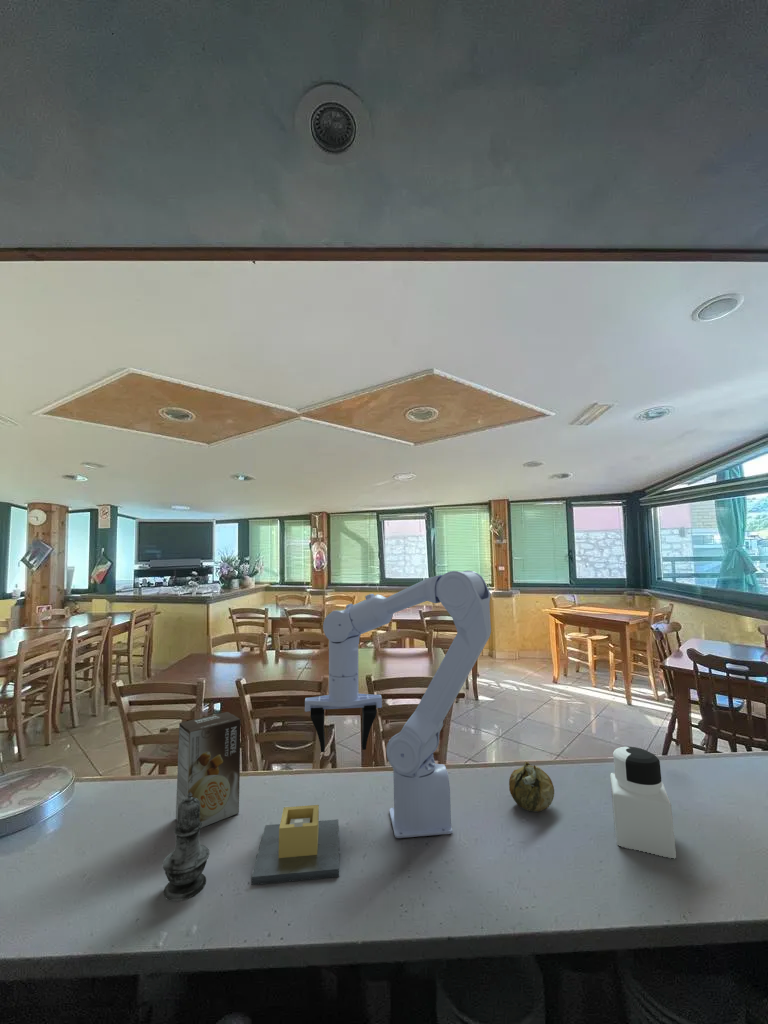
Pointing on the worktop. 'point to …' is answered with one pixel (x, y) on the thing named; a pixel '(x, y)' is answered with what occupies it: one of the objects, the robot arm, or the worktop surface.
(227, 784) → the coffee box
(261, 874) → the grey square base plate
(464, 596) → the robot arm
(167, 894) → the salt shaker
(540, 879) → the worktop surface
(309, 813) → the yellow square planter
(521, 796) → the onion
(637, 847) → the container
